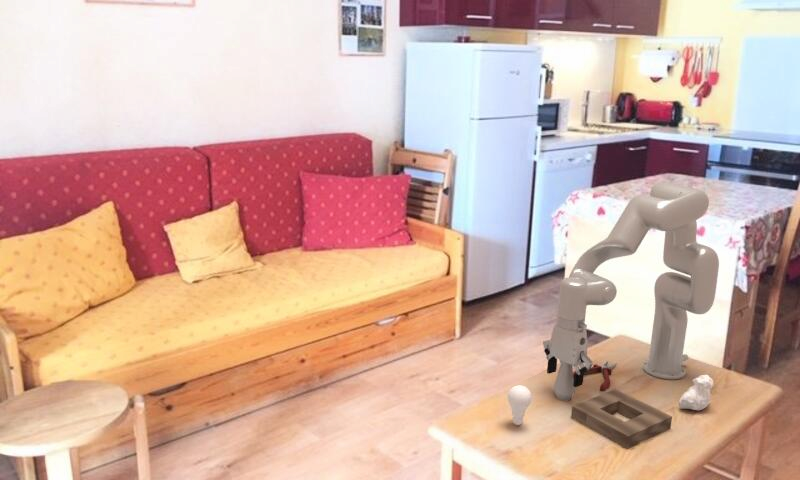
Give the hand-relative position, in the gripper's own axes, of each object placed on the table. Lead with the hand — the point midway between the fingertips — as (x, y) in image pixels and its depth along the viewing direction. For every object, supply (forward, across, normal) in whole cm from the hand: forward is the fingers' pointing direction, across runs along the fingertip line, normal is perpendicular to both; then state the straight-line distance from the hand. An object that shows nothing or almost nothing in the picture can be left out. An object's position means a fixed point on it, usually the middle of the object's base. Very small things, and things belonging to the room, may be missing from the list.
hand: (564, 379), depth 192 cm
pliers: (+6, +2, -20) cm, 21 cm away
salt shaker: (+6, 0, 0) cm, 6 cm away
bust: (+6, -24, -27) cm, 37 cm away
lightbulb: (+6, -4, +22) cm, 23 cm away
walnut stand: (+6, -18, -2) cm, 19 cm away
